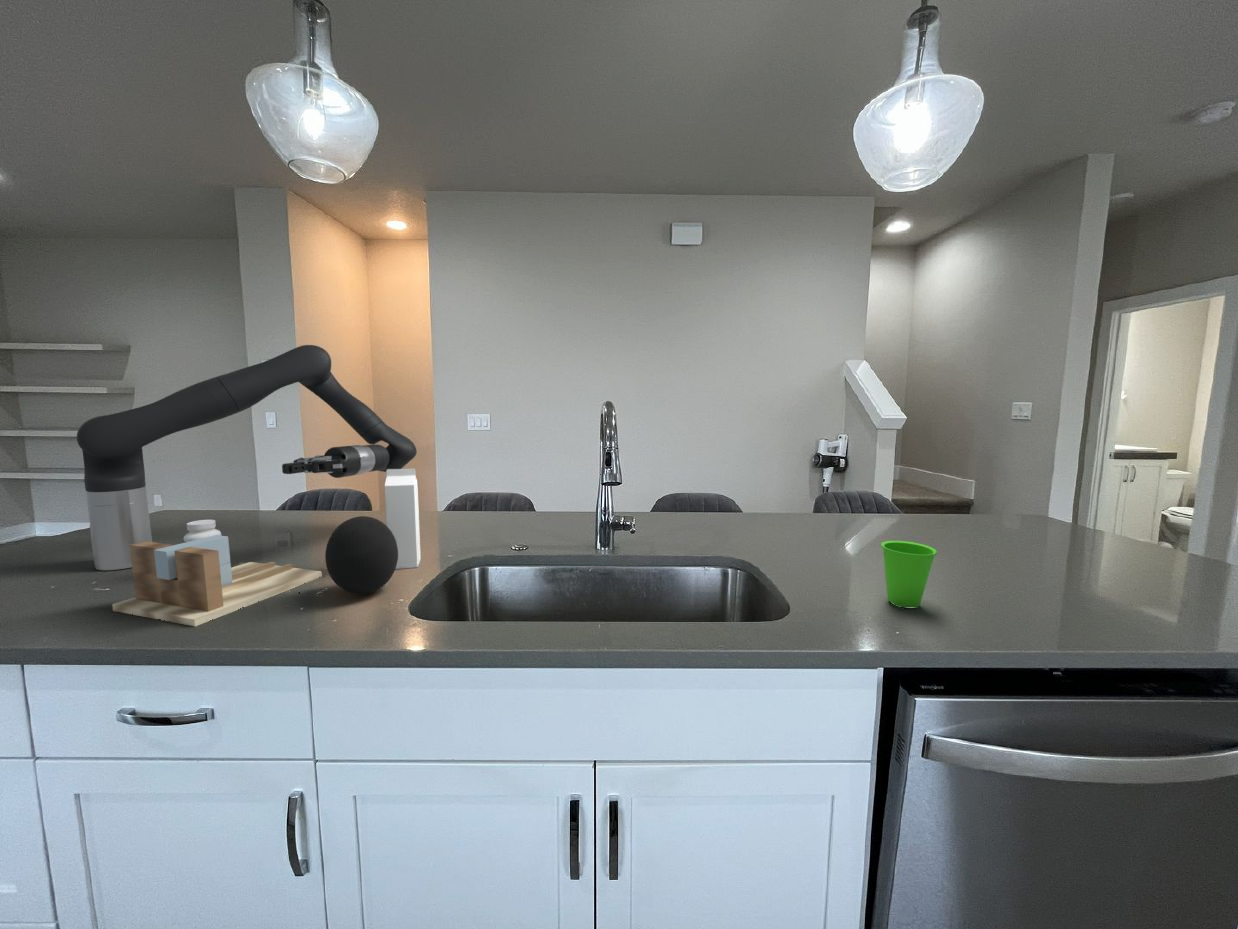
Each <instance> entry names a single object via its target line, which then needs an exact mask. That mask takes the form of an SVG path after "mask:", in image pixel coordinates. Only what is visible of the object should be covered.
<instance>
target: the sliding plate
mask: <svg viewBox="0 0 1238 929" xmlns="http://www.w3.org/2000/svg"><path fill="white" fill-rule="evenodd" d="M188 547H194V548H202V549H210V550H218V553H219V564H220V574H221V584H222V586H224V585H227V584H230V583H232V574H231V568H232V564H231V554H230V552H231V551H230V543H229V536H226V535H221V536H220V535H215V536H211V537H206V538H202V539H198V540H194V541H190V542H185V543H184V542H182V543H177V544H173V545H172V546H169V547H165V548H160V549H156V550H154V555H155V563H156V572H157V578H160V579H166V580H171V579H174V578H177V569H176V560H175V551H176V550H180V549H184V548H188Z"/></svg>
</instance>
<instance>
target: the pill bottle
mask: <svg viewBox="0 0 1238 929" xmlns="http://www.w3.org/2000/svg"><path fill="white" fill-rule="evenodd" d="M216 523H217V522H216V520H215V519H200V520H193V521H190V522H187V523H186V529H187V531H188V532H187V533H185V535H184V536H183V543H185V542H190V541H194V540H198V539H202V538H206V537H211V536H215V535H220V536H222V533H221V531H220V530H219V529H216V525H217V524H216Z"/></svg>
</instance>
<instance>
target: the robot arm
mask: <svg viewBox="0 0 1238 929" xmlns="http://www.w3.org/2000/svg"><path fill="white" fill-rule="evenodd" d="M331 370H332V358H331V355H330V354H329V352H328V351H327V350H325V349H324V348H323V347H320V346H319V345H313V344H304V345H299V346H296V347H295V348H293V349H290V350H288V351H286V352H284V353H282V354H279V355H277V356H275V357H272V358H271V359H268V360H265V361H263V362H262V361H261V362H260V363H256V364H252V365H250V366H246V367H243V368H240V369H237V370H234V371H231V372H228V373H224V374H221V375H218V376H216V377H215V376H214V377H212V378H208V379H205V380H203V381H199V382H197V383H194V384H192V385H190V386H187V387H184V388H181V389H179V390H177V391H175V392H174V393H173V392H172V393H171V394H169V395H167V396H165V397H163V398H161V399H158V400H157V401H154V402H152V403H149V404H146V405H143V406H139V407H135V408H131V409H128V410H125V411H120V412H116V413H111V414H107V415H106V414H105V415H98V416H96V417H93V418H90V419H88V420H86V421H85V422H83V423H82V424H81V425H80V427H79V429H78V430H77V434H76V442H77V444H78V446H79V447H80V449H81V452H82V457H83V468H84V470H83V471H84V474H83V476H84V480H83V482H84V489H85V495H86V502H87V503H86V505H87V511H88V519H89V532H90V540H91V548H92V556H93V563H94V567H95V570H98V571H116V570H123V569H130V568H132V562H131V554H130V546H129V545H131V544H136V543H140V542H145V541H148V542H153V538H152V528H151V522H150V521H151V520H150V510H149V504H148V495H147V487H146V475H145V474H146V473H145V472H146V471H145V463H144V454H143V447H145V446H148V445H149V444H151V443H154V442H156V441H158V440H161V439H162V438H164V437H168V436H169V435H172V434H176V433H178V432H181V431H184V430H189V429H192V428H196V427H200V426H202V425H207V424H210V423H213V422H216V421H218V420H223V419H225V418H228V417H231V416H234V415H236V414H238V413H241V412H244V411H245V410H247V409H250V408H251V407H253V406H255V405H257V404H258V403H260V402H261V401H262V400H264V399H266V398H267V397H269V396H270V395H271V394H273V393H274V392H276V391H277V390H280V389H282V388H285V387H287V386H289V385H293V384H296V383H298V384H299V383H300V384H301V385H302V386H303V387H304V388H306V389H307V390H309V391H310V392H311V393H312V394H314V395H315V396H317V397H318V398H320V399H321V401H323V402H325V404H327V405H328V406H329V407H330V408H332V410H334V411H335V412H336V413H337V414H338V415H339V416H340V417H341V418H342V419H343V420H344V421H345V422H346V423H347V424H348V426H350V427H351V428H352V430H354V431H355V432H356V433H357V434H358V435H359V436H360V437H361V438H362V439H363V441H365V442H366V443H367V444H365V445H360V444H355V445H343V446H332V447H330V448H328V449H327V450H326V451H325V452H324V455H323V454H320V455H315V456H311V457H299V458H295V459H294V460H293V462H287V463H283V464H282V465H281V468H282V470H281V471H282V473H283V474H286V475H292V474H293V475H294V474H300V473H305V474H325V473H326V474H328V475H329V476H330V477H332V478H334V479H341V478H347V477H348V478H349V477H353V476H359V475H364V474H365V473H372V472H377V471H379V472H383V473H386V471H387V470H388V469H404V467H405V466H406V465H407V464H408V463H410V462H411V461H412V460H413V459H414V458H415V457H416V455H417V451H418V450H417V447H416V445H415V443H414V442H413V441H412V439H410V438H408V437H407V436H405V435H404V434H402V433H400V432H398V431H397V430H395V429H394V428H392V427H391V426H388V424H386V422H384V421H383V419H381V418H380V416H379V415H378V414H376V412H375V411H374V410H372V409H371V408H370V407H369V406H368V405H367V404H365V403H364V402H362V401H361V400H360V399H358V398H357V397H355V396H354V395H353V394H351V393H350V392H349V391H348V390H346V389H345V387H344V386H342V384H340V382H339V381H338V380H337V379H336V377H335V376H334V374H333V373H332V371H331ZM379 442H384V443H386V444H388V445H387V446H386V447H385V446H383V445H382V444H379ZM377 443H378V444H377Z"/></svg>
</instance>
